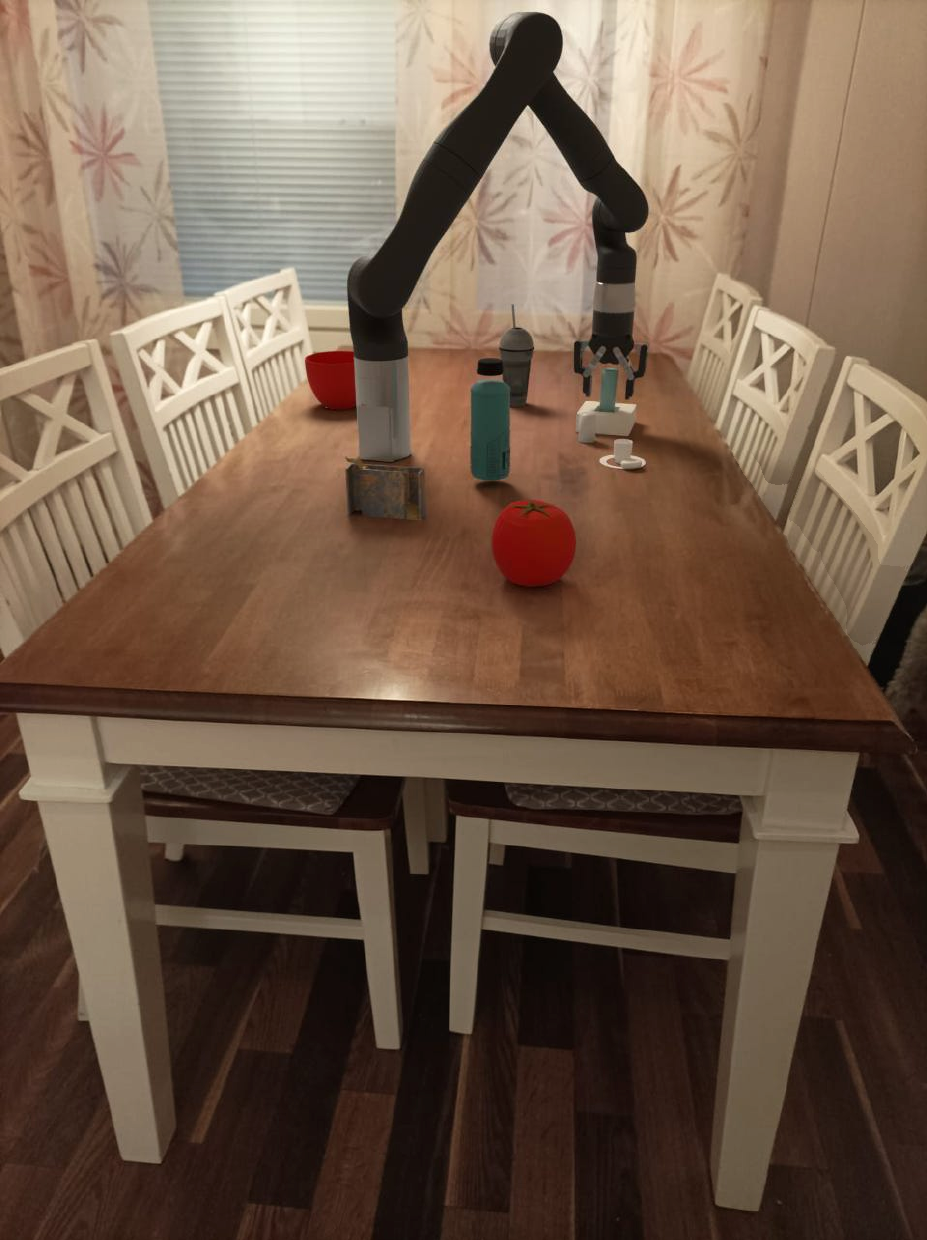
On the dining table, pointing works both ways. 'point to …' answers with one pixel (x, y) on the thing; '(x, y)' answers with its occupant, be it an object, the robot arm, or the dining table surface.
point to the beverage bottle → (490, 423)
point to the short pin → (587, 427)
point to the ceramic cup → (332, 378)
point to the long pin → (608, 390)
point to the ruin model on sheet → (385, 490)
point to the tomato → (533, 543)
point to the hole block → (610, 418)
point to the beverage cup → (516, 362)
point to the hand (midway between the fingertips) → (607, 397)
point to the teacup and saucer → (623, 456)
